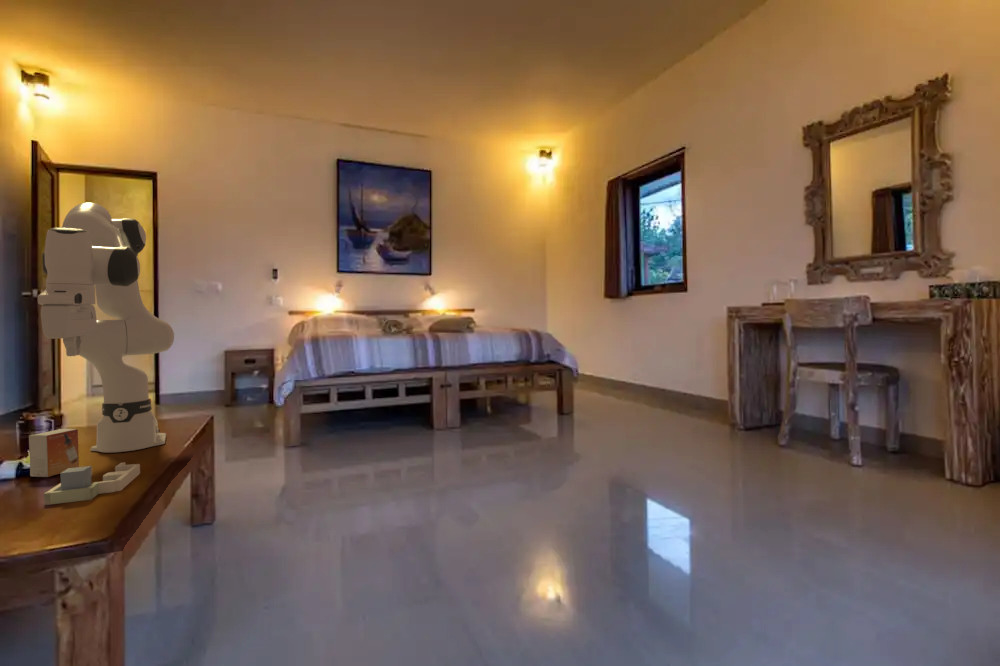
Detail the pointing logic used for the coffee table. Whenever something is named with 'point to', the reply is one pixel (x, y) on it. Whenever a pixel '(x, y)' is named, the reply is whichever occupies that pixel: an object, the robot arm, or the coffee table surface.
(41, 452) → the small box
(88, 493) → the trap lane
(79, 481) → the slate block
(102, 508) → the coffee table surface
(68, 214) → the robot arm
